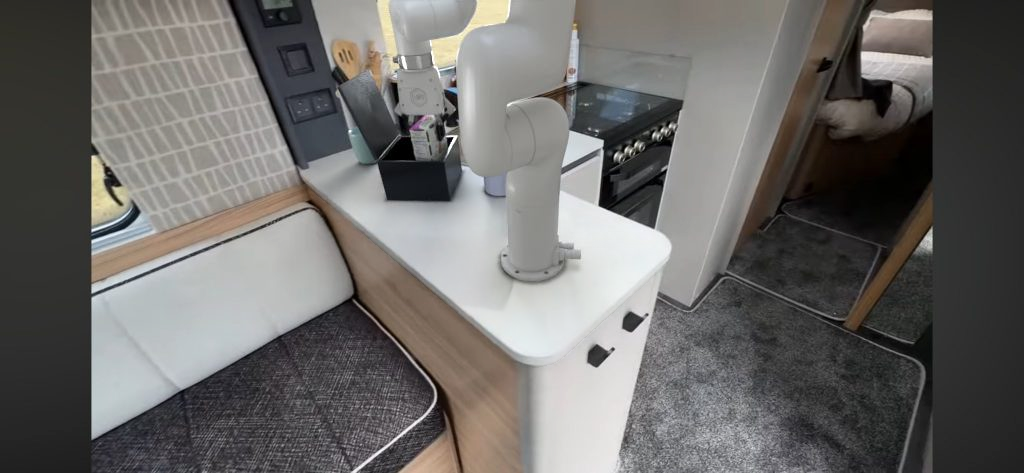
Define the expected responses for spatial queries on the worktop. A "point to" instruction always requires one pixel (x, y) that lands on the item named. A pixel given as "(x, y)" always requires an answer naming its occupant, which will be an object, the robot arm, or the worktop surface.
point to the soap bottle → (496, 185)
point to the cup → (360, 147)
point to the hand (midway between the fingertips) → (429, 138)
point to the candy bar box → (427, 140)
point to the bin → (419, 172)
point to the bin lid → (369, 112)
